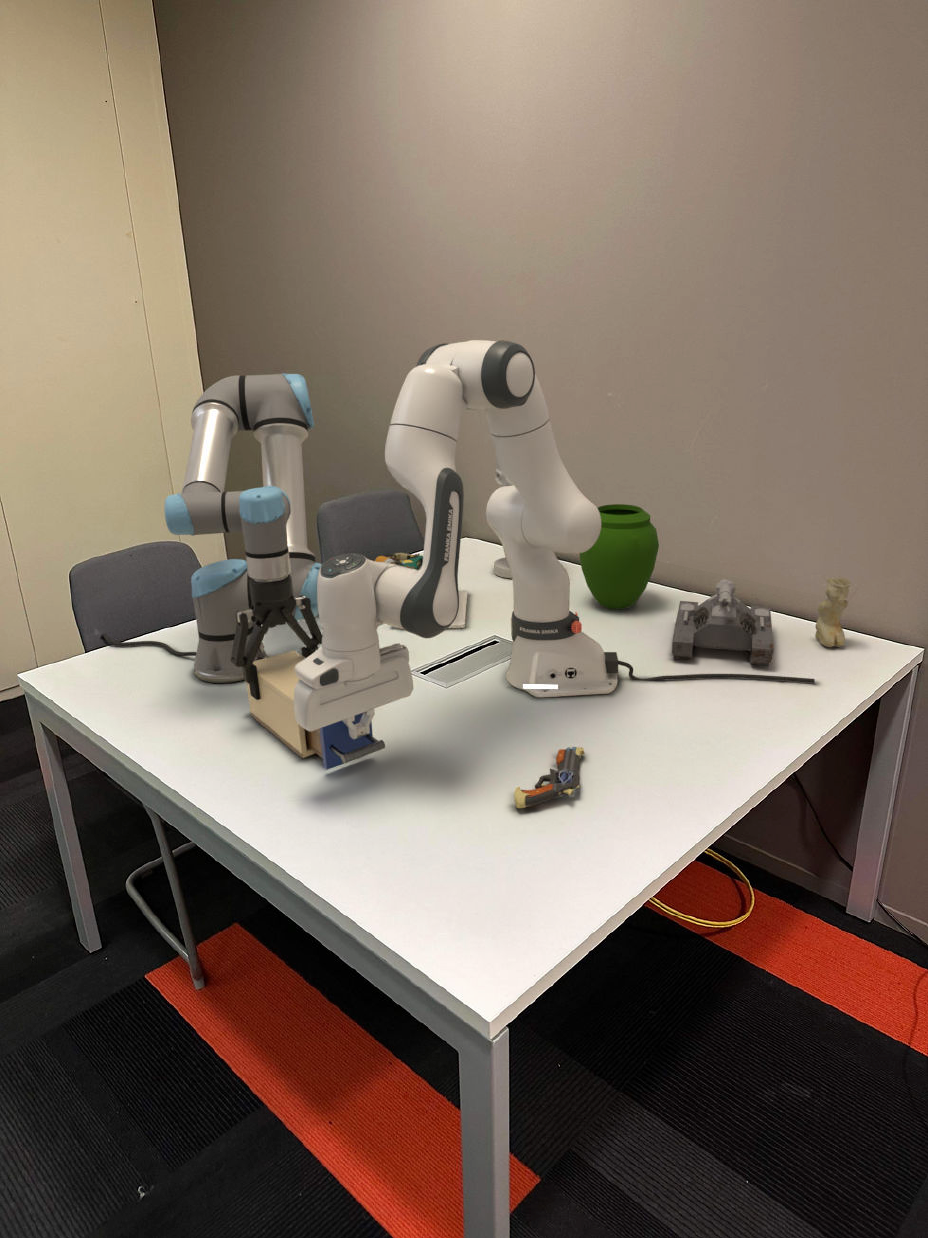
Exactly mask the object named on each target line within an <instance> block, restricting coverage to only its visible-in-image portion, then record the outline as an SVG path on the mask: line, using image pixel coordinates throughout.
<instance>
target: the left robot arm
mask: <svg viewBox="0 0 928 1238" xmlns="http://www.w3.org/2000/svg"><path fill="white" fill-rule="evenodd" d="M190 424H191V429H192V430H193V433H192V438H191V444H190V448H189V453H188V458H187V463H186V468H185V473H184V478H183V483H182V489H181V493H180V492H178V493H175V494H170V495H167V497H166V498H165V501H164V519H165V523H166V527H167V529H168V531H169V532H170V534H172V535H175V536H201V535H215V534H229V533H232V534H233V533H242V536H243V542H244V550H245V551H244V552H245V559H242V558H241V559H240V558H239V559H238V558H231V559H224V560H219V561H215V562H212V563H209V564H207V565H204V566H202V567H200V568H198V569H197V570H196V571H195V572H193V574H192V575H191V579H190V583H191V584H190V585H191V597H192V602H193V608H194V615H195V620H196V628H197V633H198V643H197V648H196V651H178V650H175V649H174V648H173V647H171V646H170V645H168V644H167V643H164V642H161V641H157V640H141V641H140V640H139V641H128V642H127V641H125V642H124V641H123V642H122V641H121V642H120V641H113V640H111V638H110V637H109V636H108V634H107V633H105V632H103V633H102V634H101V635H100V637H99V639H104V640H105V642H106V643H107V644H109V645H110V646H115V647H135V646H149V645H150V646H159V647H161V648H164V649H166V650H167V651H168V652H169V653H171V654H173V655H175V656H179V657H193V656H194V657H195V658H194V662H193V669H194V674H195V676H196V678H198V679H199V680H201V681H204V682H207V683H213V684H228V683H236V682H241V681H244V682H245V683H246V682H247V683H248V684H249V686H250V694H251V696H252V697H253V698H255V699H256V700H259V699H261V698H260V690H259V682H258V674H257V666H255V665H254V664H253V662H254V661H257V660H261V659H264V658H268V654H267V653H266V650H265V645H264V643H263V640H264V637H265V635H266V634H267V633H268V631H269V629H273V628H276V627H277V626H285V625H288V627H289V628H290V629H291V630H292V631H293V632H294V634H295V635H296V636H297V638H299V640H300V641H301V642H302V643H303V644H304V646H302V647H300V650H301V651H300V652H301V655H302V656H304V657H305V658H307V657H309V656H310V655H311V654H313V653H314V652H315V651H317V650H318V649H319V645H322V636H323V632H322V631H321V629H320V626H319V624H318V621H317V620H316V617H317V616H319V613H318V603H317V579H318V573H319V570H320V567H321V566H322V564H323V563H319V562H316V555H315V554H314V553H313V552H312V551H311V550H309V548H308V533H307V517H306V516H307V514H306V513H307V512H306V499H305V497H306V496H305V495H306V494H305V480H304V479H305V478H304V463H303V445H302V444H303V443H304V441H305V440H307V438H308V437H309V430H310V429H313V428H314V427H315V419H314V415H313V410H312V405H311V401H310V395H309V390H308V385H307V381H306V378H305V377H304V376H303V375H301V374H299V373H285V372H282V373H273V374H272V373H271V374H251V375H248V374H246V375H240V374H239V375H238V374H237V375H230V376H227V377H225V378H222V379H220V380H218V381H216V382H215V383H213V384H212V385H211V386H209V387H208V388H207V389H206V390H204V392H203V393H202V394H201V395H200V396H199V398H198V399H197V400H196V402H195V404H194V406H193V408H192V412H191V416H190ZM241 431H242V432H243V431H246V432H248V431H253V437H254V439H255V440H257V442H259V444H261V445H260V448H261V466H262V467H261V468H262V469H261V471H262V487H254V488H248V489H246V490H237V491H236V490H235V491H225V487H226V479H227V472H228V465H229V460H230V459H229V458H230V453H231V444H232V439H233V438H235V436H236V435H237V433H238V432H241ZM300 620H304V622H305V624H306V626H307V629H308V631H309V633H310V635H309V634H308V633H307V632H306V630H305V629H304V628H303V627H302V626H301V624H299V621H300ZM247 683H246V684H247Z"/></svg>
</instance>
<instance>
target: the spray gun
mask: <svg viewBox="0 0 928 1238" xmlns="http://www.w3.org/2000/svg"><path fill="white" fill-rule="evenodd" d="M374 561H375V562H386V563H391V564H395V565H400V566H403V567H406V568H411V569H416V570H418V568H419V566H420V565H422V564H423V555H421V553H415V554H411V553H407V552H390V553H387V554H386V556H384V555H379V556H377V557H376V558H375V559H374Z"/></svg>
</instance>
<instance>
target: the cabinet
mask: <svg viewBox="0 0 928 1238" xmlns="http://www.w3.org/2000/svg"><path fill="white" fill-rule="evenodd" d="M304 659H306V658H305V657H304V656H302V653H299V652H298V651H296V650H295V649H294V650H290V651H286V652H283V653H279V654H275V655H272V656H267V658H264V659H261V660H257V661H254V662H253V664H254V665H255V666H257V674H258V682H259V690H260V698H261V699H259V700H256V699H255V698H253V697H252V696H251V694H250V686H249V684H248V683H247V682H245V684H246V690H247V698H248V704H249V705H248V706H249V714H250V717H252V718H253V719H254V720H255V721H256V722H258V723H259V725H261V726H262V727H264V729H266V730H267V731H269V732H270V733H271V734H272V735H273V736H274V737H276V738H277V739H278V740H279V741H281V742H282V743H283V744H284V745H285V746H287V747H288V749H290V750H292V751H293V752H294V753H295V754H296V755H297V756H299V757H300V758H301V759H305V758H307V757H310V756H313V755H317V754H316V753H315V752H314V751H313V750H311V749H310V748H309V747H308V746H306V739H305V730H304V728H303V727H301V726H300V725H299V724H298V723H297V721H296V719H295V712H294V689H295V686H296V684H297V682H298V681H299V680H300V679H299V678H298V677H297V676H296V674H295V666H296V665H297V664H298V663H299V662H301V661H303V660H304Z"/></svg>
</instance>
